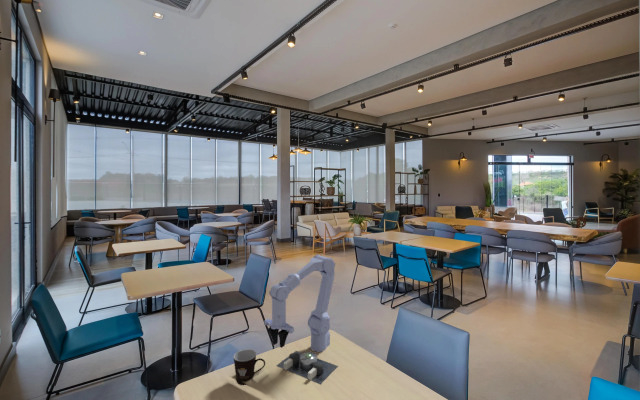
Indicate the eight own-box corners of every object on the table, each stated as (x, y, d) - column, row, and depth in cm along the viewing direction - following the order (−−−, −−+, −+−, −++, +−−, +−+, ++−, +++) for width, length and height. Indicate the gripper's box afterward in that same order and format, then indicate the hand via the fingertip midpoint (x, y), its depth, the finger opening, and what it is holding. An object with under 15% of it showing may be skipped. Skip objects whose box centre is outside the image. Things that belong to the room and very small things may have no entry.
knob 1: (293, 358, 132) (293, 351, 132) (301, 361, 130) (301, 354, 130) (280, 368, 125) (280, 360, 125) (289, 371, 123) (289, 364, 122)
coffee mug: (228, 382, 118) (228, 357, 117) (244, 371, 125) (244, 347, 125) (252, 392, 112) (252, 366, 112) (266, 379, 120) (266, 354, 119)
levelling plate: (296, 353, 138) (296, 341, 138) (338, 369, 127) (338, 356, 126) (275, 369, 127) (275, 355, 126) (320, 388, 115) (320, 373, 115)
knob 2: (316, 367, 126) (316, 360, 125) (325, 370, 123) (325, 363, 123) (304, 378, 118) (304, 370, 118) (313, 381, 116) (314, 374, 116)
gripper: (259, 312, 128) (259, 344, 128) (286, 321, 120) (286, 354, 121) (270, 307, 134) (270, 337, 134) (297, 314, 126) (296, 347, 126)
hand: (278, 345), depth 128 cm, fingers open, 3 cm apart
